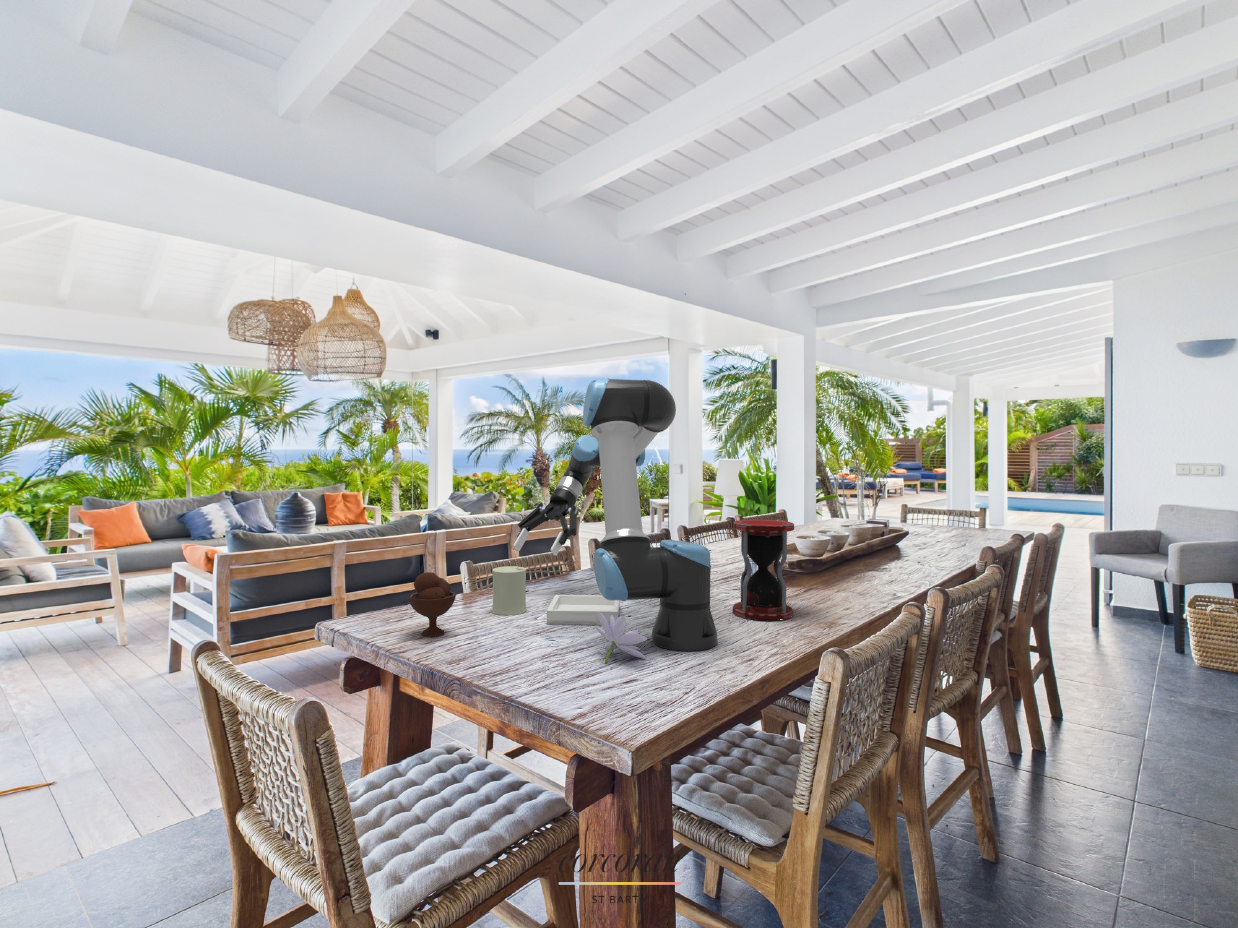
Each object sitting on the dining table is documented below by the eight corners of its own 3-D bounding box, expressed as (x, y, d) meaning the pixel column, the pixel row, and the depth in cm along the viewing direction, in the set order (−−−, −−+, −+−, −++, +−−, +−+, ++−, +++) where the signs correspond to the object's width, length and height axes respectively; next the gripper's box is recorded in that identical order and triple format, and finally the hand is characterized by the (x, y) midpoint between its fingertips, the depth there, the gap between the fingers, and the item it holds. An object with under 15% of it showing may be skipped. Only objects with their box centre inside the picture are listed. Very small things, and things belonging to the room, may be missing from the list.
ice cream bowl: (444, 641, 153) (444, 577, 153) (400, 638, 156) (399, 574, 155) (464, 629, 164) (464, 568, 163) (422, 626, 166) (422, 566, 166)
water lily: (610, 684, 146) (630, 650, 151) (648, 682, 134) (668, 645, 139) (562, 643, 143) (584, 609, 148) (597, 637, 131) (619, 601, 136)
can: (523, 615, 178) (523, 570, 177) (488, 615, 178) (488, 570, 177) (528, 607, 187) (528, 564, 186) (495, 606, 187) (496, 564, 187)
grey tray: (617, 625, 168) (617, 611, 168) (546, 624, 169) (546, 610, 169) (619, 607, 186) (619, 595, 186) (555, 607, 187) (555, 594, 187)
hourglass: (720, 612, 183) (721, 521, 182) (759, 603, 193) (760, 517, 192) (766, 624, 170) (767, 527, 169) (805, 615, 180) (806, 523, 179)
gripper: (604, 505, 199) (575, 562, 187) (539, 500, 212) (507, 554, 200) (595, 488, 195) (564, 546, 182) (528, 485, 208) (495, 538, 195)
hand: (534, 550), depth 191 cm, fingers open, 13 cm apart
